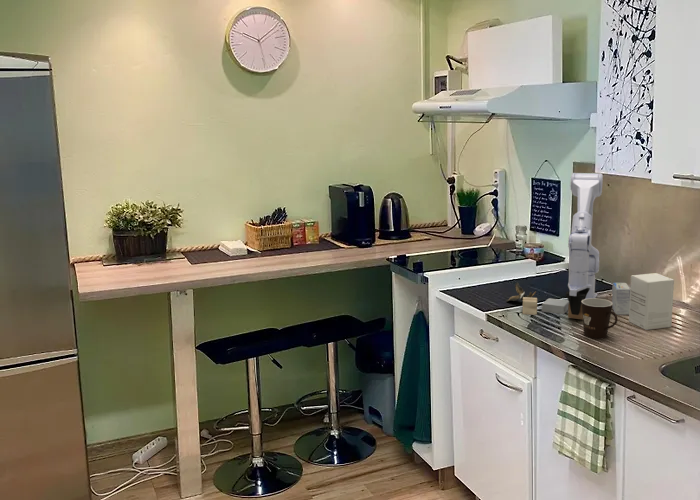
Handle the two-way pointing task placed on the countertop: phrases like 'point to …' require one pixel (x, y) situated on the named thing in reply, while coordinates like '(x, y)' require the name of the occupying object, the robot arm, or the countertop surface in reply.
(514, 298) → the eagle figurine
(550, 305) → the slate block
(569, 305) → the walnut cube
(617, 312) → the medicine box
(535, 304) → the birch cube
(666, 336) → the countertop surface
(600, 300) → the coffee mug
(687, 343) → the countertop surface
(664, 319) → the supplement box
